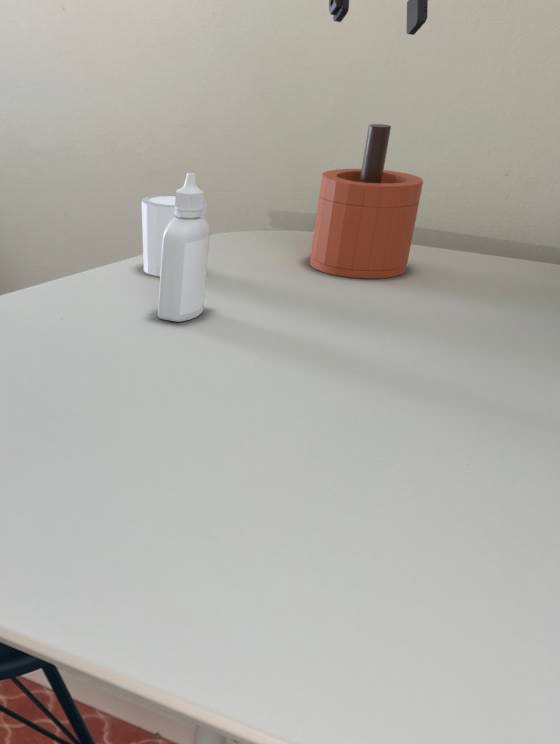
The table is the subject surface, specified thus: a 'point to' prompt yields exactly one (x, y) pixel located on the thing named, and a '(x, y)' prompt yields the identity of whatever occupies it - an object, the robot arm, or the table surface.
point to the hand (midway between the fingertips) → (378, 23)
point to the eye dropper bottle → (184, 257)
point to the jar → (365, 224)
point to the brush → (375, 153)
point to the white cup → (157, 228)
